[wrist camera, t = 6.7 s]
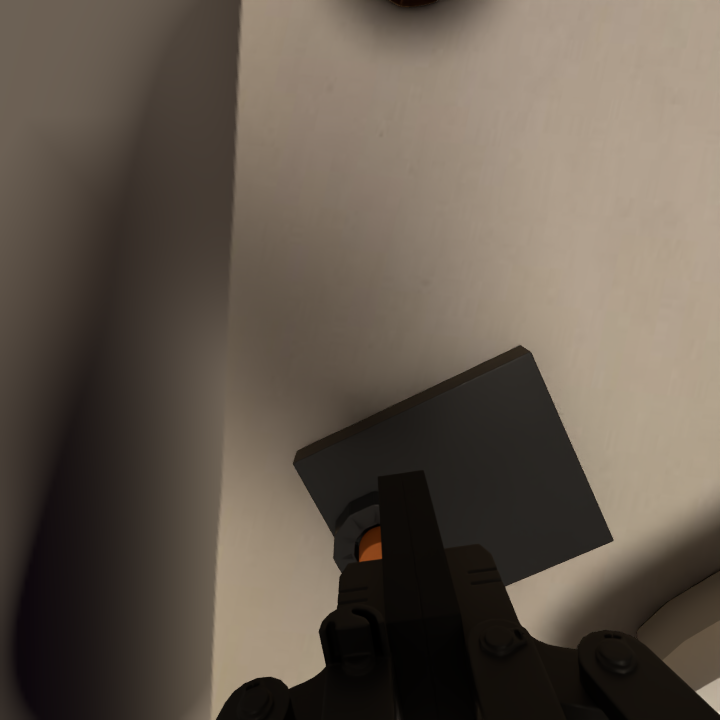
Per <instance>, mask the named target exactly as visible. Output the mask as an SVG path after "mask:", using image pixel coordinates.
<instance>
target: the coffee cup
mask: <svg viewBox="0 0 720 720" xmlns="http://www.w3.org/2000/svg"><path fill="white" fill-rule="evenodd" d="M388 1H390V2H392V3H394V4H396V5H398V6H401V7H414V6H421V5H428V4H431V3H434V2H436V1H438V0H388Z"/></svg>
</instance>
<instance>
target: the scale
mask: <svg viewBox="0 0 720 720" xmlns="http://www.w3.org/2000/svg"><path fill="white" fill-rule="evenodd" d="M293 465H294V467H295V469H296V470H297V472H298V474H299V476H300V477H301V479H302V481H303V483H304V485H305V486H306V488H307V490H308V492H309V493H310V495H311V497H312V499H313V500H314V502H315V504H316V506H317V507H318V509H319V511H320V513H321V515H322V516H323V518H324V520H325V522H326V523H327V525H328V527H329V529H330V530H331V532H332V534H333V536H334V556H333V559H334V561H335V562H336V564H337V566H338V568H339V569H340V571H341V573H342V572H343V571H344V569H345V568H346V566H347V565H348V563H355V562H359V545H360V541H361V539H362V537H363V536H364V534H365V533H366V532H367V531H369V530H370V529H372V528H375V527H378V526H380V512H379V493H378V476H385V475H392V474H398V473H405V472H412V471H419V470H424V473H425V477H426V480H427V484H428V488H429V492H430V496H431V500H432V504H433V507H434V511H435V515H436V519H437V523H438V527H439V531H440V535H441V538H442V542H443V546H444V548H451V547H458V546H465V545H472V544H480V545H481V546H483V547H484V548H485V549H486V550H487V551H489V552H490V553H491V554H492V556H493V559H494V561H495V564H496V566H497V570H498V571H499V574H500V576H501V579H502V581H503V584H504V586H508V585H510V584H512V583H515V582H517V581H520V580H522V579H524V578H527V577H529V576H531V575H534V574H536V573H539V572H541V571H543V570H546V569H548V568H550V567H553V566H555V565H558V564H560V563H562V562H565V561H567V560H569V559H572V558H574V557H577V556H579V555H581V554H584V553H586V552H589V551H591V550H593V549H596V548H598V547H600V546H603V545H605V544H608V543H610V542H612V541H614V540H613V537H612V535H611V533H610V531H609V528H608V526H607V524H606V521H605V519H604V517H603V515H602V512H601V510H600V508H599V506H598V503H597V501H596V499H595V496H594V494H593V492H592V490H591V487H590V485H589V483H588V481H587V478H586V476H585V474H584V471H583V469H582V467H581V465H580V462H579V460H578V458H577V455H576V453H575V451H574V449H573V446H572V444H571V442H570V440H569V437H568V435H567V433H566V430H565V428H564V426H563V424H562V421H561V419H560V417H559V415H558V412H557V410H556V408H555V405H554V403H553V401H552V399H551V396H550V394H549V392H548V390H547V387H546V385H545V383H544V380H543V378H542V376H541V374H540V371H539V369H538V367H537V365H536V362H535V360H534V358H533V355H532V353H531V352H530V351H529V350H527V349H526V348H524V347H522V346H518V347H516V348H514V349H512V350H510V351H508V352H506V353H504V354H501V355H499V356H497V357H495V358H493V359H491V360H489V361H487V362H485V363H482V364H480V365H478V366H476V367H474V368H472V369H470V370H468V371H466V372H463V373H461V374H459V375H457V376H455V377H453V378H451V379H449V380H446V381H444V382H442V383H440V384H438V385H436V386H434V387H432V388H430V389H427V390H425V391H423V392H421V393H419V394H417V395H415V396H413V397H411V398H408V399H406V400H404V401H402V402H400V403H398V404H396V405H394V406H392V407H389V408H387V409H385V410H383V411H381V412H379V413H377V414H375V415H372V416H370V417H368V418H366V419H364V420H362V421H360V422H358V423H356V424H353V425H351V426H349V427H347V428H345V429H343V430H341V431H339V432H337V433H334V434H332V435H330V436H328V437H326V438H324V439H322V440H320V441H318V442H315V443H313V444H311V445H309V446H307V447H305V448H303V449H301V450H299V451H297V453H296V456H295V459H294V462H293Z"/></svg>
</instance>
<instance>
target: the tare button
mask: <svg viewBox="0 0 720 720" xmlns="http://www.w3.org/2000/svg"><path fill="white" fill-rule="evenodd" d="M376 559H382V549H381V531H380V526H378V527H375V528H372V529H370V530H369V531H367V532H366V533H365V534H364V536H363V537H362V539H361V541H360V545H359V562H362V561H369V560H376Z"/></svg>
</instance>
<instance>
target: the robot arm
mask: <svg viewBox="0 0 720 720" xmlns="http://www.w3.org/2000/svg"><path fill="white" fill-rule="evenodd" d="M378 493H379V512H380V531H381V549H382V559H376V560H369V561H362V562H355V563H348V565H347V566H346V568H345V569H344V571H343V572H342V574H341V575H340V578H339V594H338V605H337V610H335V611H333V612H332V613H330V614H329V615H328V616H327V617H326V618H325V619H324V620H323V622H322V624H321V627H320V629H319V635H320V640H321V644H322V649H323V654H324V658H325V663H326V667H325V668H324V669H323V670H322V671H321V672H320V673H319V674H317V675H316V676H315V677H313V678H312V679H310V680H308V681H306V682H304V683H302V684H299V685H297V686H294V687H292V688H290V689H288V687H287V686H286V685H285V684H284V683H283V682H282V681H281V680H280V679H276V678H273V677H263V678H256V679H254V680H252V681H249V682H247V683H245V684H243V685H242V686H241V687H239V688H238V689H237V690H235V691H234V692H233V693H232V695H231V696H230V697H229V698H228V700H227V701H226V702H225V704H224V706H223V708H222V709H221V711H220V713H219V715H218V717H217V718H216V720H720V714H719V713H717V712H716V711H715V710H714V709H713V708H712V707H711V706H710V705H709V704H708V703H707V702H706V701H705V700H704V699H703V698H701V697H700V696H699V695H698V694H697V693H696V692H695V691H694V690H693V689H692V688H691V687H690V686H689V685H688V684H687V683H686V682H684V681H683V680H682V679H681V678H680V677H679V676H678V675H677V674H676V673H675V672H674V671H673V670H672V669H671V668H670V667H669V666H667V665H666V664H665V663H664V662H663V661H662V660H661V659H660V658H659V657H658V656H657V655H656V654H655V653H654V652H653V651H651V650H650V649H649V648H648V647H647V646H646V645H645V644H643V643H642V642H640V641H639V640H638V639H636V638H635V637H632V636H630V635H627V634H624V633H622V632H617V631H609V630H603V631H597V632H592V633H590V634H588V635H587V636H585V637H583V638H582V640H581V641H580V643H579V645H578V649H571V648H563V647H557V646H552V645H548V644H545V643H543V642H541V641H538V640H536V639H535V638H533V637H532V636H531V635H530V634H529V633H528V631H527V630H526V629H525V628H524V627H522V626H521V624H520V623H519V620H518V618H517V615H516V613H515V611H514V608H513V606H512V603H511V601H510V598H509V596H508V593H507V591H506V588H505V586H504V584H503V581H502V579H501V576H500V574H499V571H498V570H497V566H496V564H495V561H494V559H493V556H492V554H491V553H490V552H489V551H487V550H486V549H485V548H484V547H483V546H481V545H480V544H472V545H465V546H458V547H451V548H444V546H443V542H442V538H441V535H440V531H439V527H438V523H437V519H436V515H435V511H434V507H433V504H432V500H431V496H430V492H429V488H428V484H427V480H426V477H425V473H424V470H419V471H412V472H405V473H398V474H392V475H385V476H378Z"/></svg>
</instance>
